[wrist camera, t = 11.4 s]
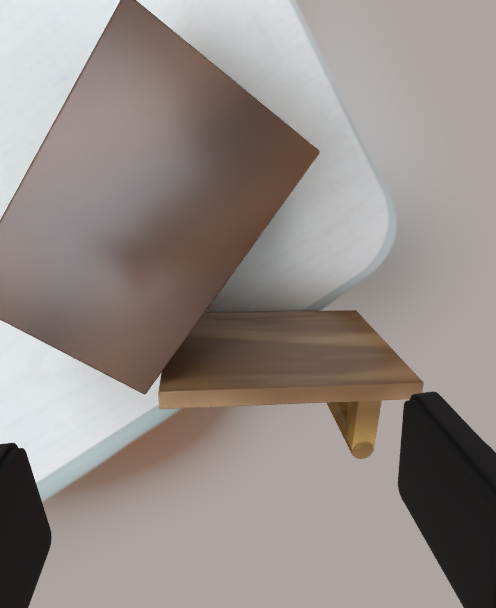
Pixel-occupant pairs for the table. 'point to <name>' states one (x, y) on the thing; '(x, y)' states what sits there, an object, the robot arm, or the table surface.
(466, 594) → the robot arm
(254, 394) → the cupboard door
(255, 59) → the table surface
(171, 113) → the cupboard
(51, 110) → the table surface
